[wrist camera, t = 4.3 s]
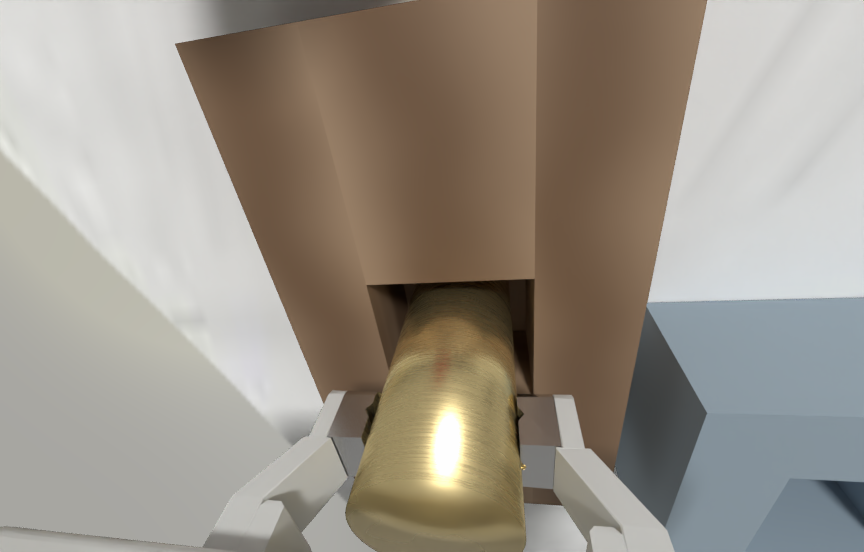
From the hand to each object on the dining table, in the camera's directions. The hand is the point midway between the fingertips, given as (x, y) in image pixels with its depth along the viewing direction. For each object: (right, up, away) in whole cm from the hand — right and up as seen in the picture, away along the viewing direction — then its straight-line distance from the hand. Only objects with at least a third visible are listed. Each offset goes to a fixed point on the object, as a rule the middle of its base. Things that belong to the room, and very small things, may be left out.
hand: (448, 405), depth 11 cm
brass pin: (+1, +4, +6) cm, 7 cm away
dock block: (+16, -2, +8) cm, 18 cm away
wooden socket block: (+1, +4, +6) cm, 8 cm away
